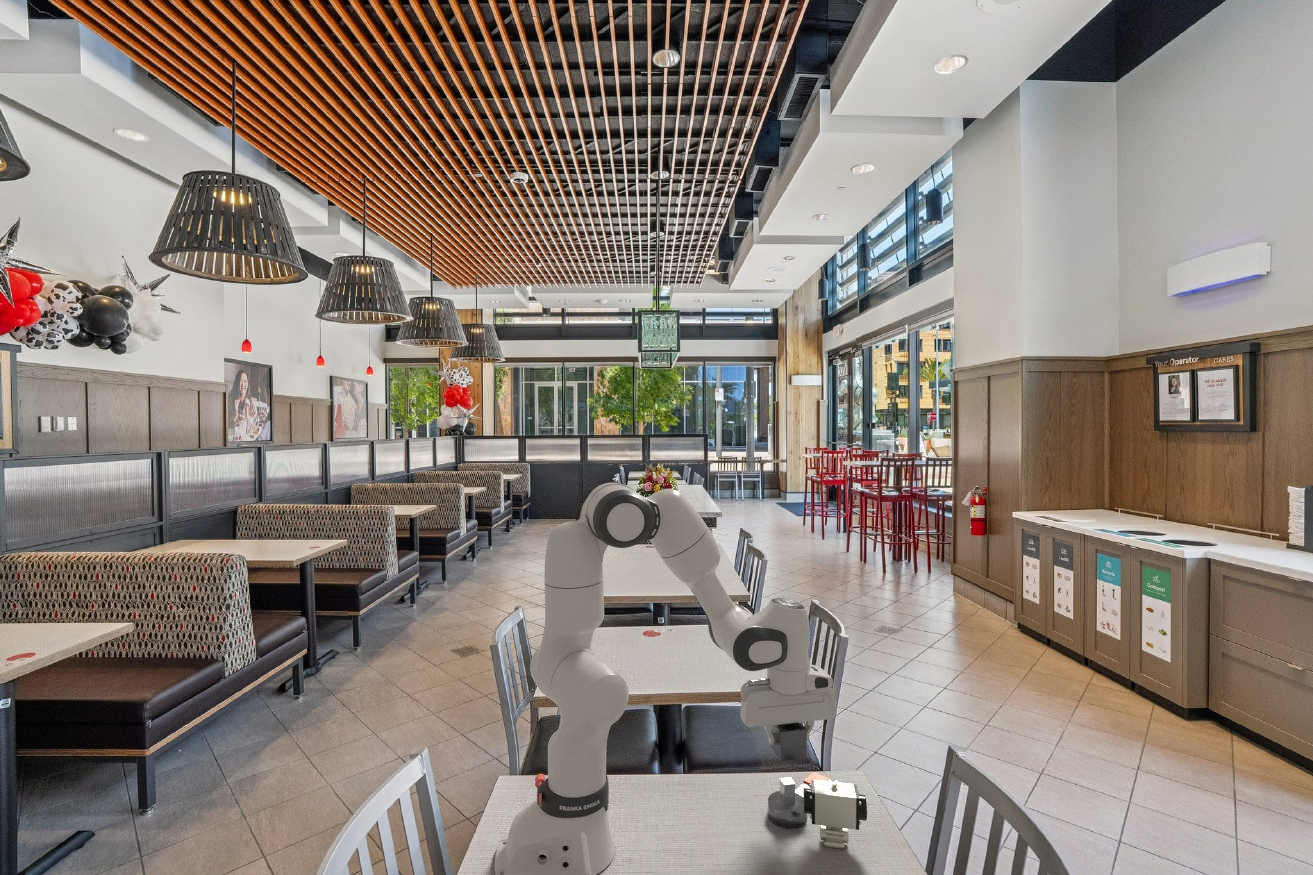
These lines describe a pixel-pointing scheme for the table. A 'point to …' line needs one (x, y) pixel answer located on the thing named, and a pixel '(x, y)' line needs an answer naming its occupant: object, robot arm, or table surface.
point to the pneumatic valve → (834, 810)
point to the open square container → (790, 741)
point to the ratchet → (790, 803)
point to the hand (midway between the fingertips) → (788, 741)
